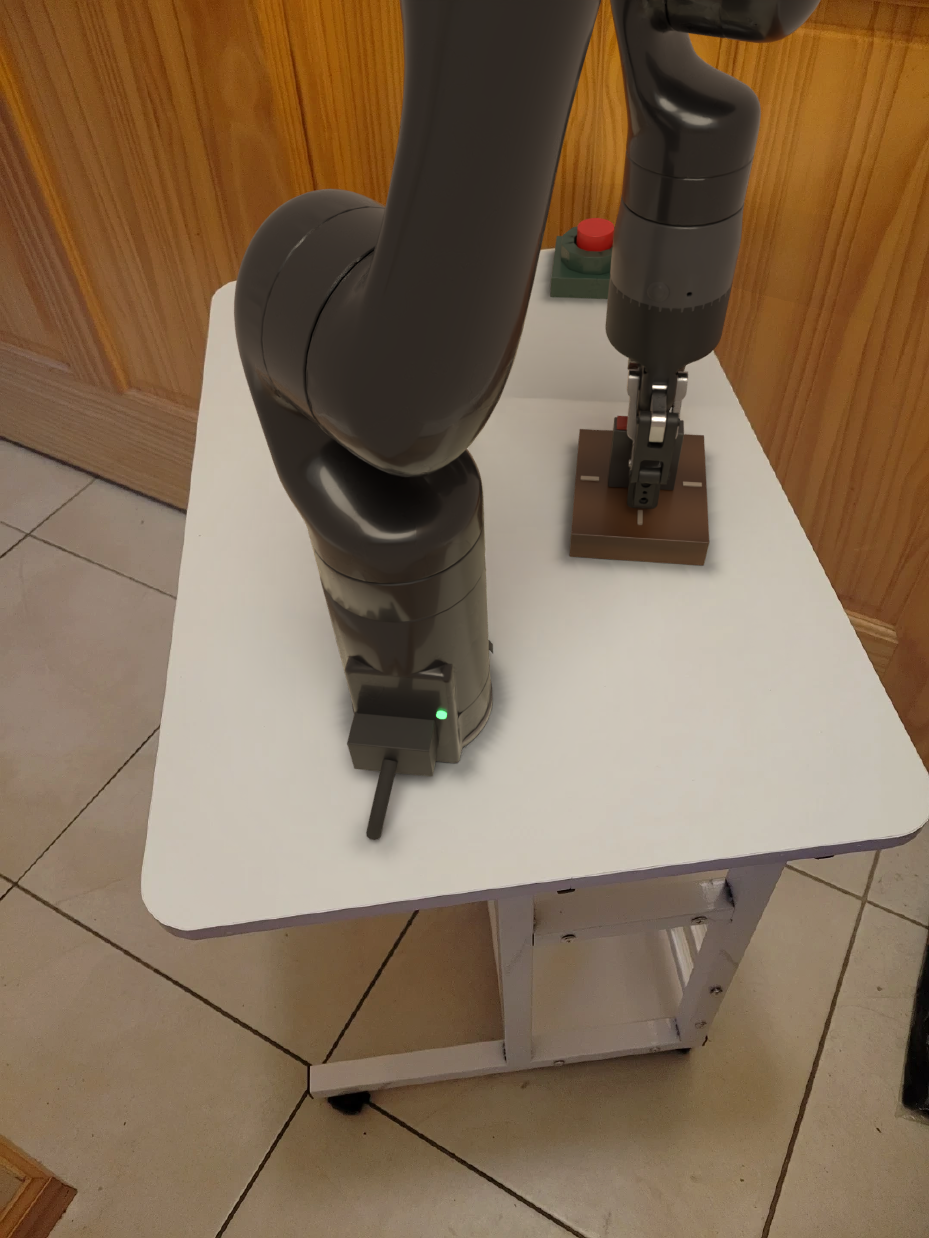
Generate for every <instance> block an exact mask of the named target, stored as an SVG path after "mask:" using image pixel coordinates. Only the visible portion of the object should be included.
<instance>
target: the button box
mask: <svg viewBox="0 0 929 1238" xmlns="http://www.w3.org/2000/svg"><path fill="white" fill-rule="evenodd" d="M577 227H578V225H577V226H573V227H571V228H570V229H568V231H566V232H565V233H563V234H562V235H556V238H555V244H554V245H555V246H554V247H555V248H554V252H553V253H554V254H553V260H552V269H551V275H550V298H558V299H559V298H560V299H561V298H562V299H563V298H564V299H593V300H608V291H609V280H610V269H611V258H612V247H613V246H612V247H611V248H610V249H607V250H604V251H586V250H583V249H580V248H578V247H577ZM614 229H615V226H614Z"/></svg>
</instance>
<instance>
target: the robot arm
mask: <svg viewBox="0 0 929 1238" xmlns="http://www.w3.org/2000/svg"><path fill="white" fill-rule="evenodd" d="M601 2H602V0H399V8H400V17H401V24H402V25H401V26H402V47H403V85H402V87H403V89H402V90H403V91H402V104H401V113H400V122H399V131H398V136H397V137H398V138H397V143H396V149H395V154H394V161H393V165H392V171H391V176H390V181H389V185H388V186H389V187H388V192H387V197H386V202H385V204H383V203H381V202H379V201H377V200H375V199H373V198H371V197H369V196H367V195H364V194H361V193H358V192H355V191H351V190H347V189H341V188H324V189H322V188H321V189H315V190H311V191H306V192H305V193H302V194H299V195H296V196H294V197H292V198H290V199H288V200H287V201H285V202H284V203H282V204H281V205H279V206H278V207H276V209H274V210H273V211H272V212H271V213H270V214H269V216H267V218H265V219H264V220H263V222H262V223H261V224H260V226H259V227H258V229H256V231H255V233H254V235H253V236H252V237H251V239H250V241H249V243H248V245H247V247H246V250H245V252H244V253H243V256H242V259H241V261H240V265H239V269H238V271H237V272H238V273H237V277H236V282H235V290H234V297H233V298H234V299H233V300H234V301H233V321H234V332H235V337H236V344H237V349H238V354H239V358H240V362H241V365H242V369H243V372H244V376H245V380H246V383H247V386H248V390H249V393H250V396H251V399H252V403H253V405H254V408H255V411H256V415H257V417H258V420H259V424H260V427H261V430H262V432H263V435H264V438H265V441H266V444H267V447H268V450H269V454H270V456H271V459H272V463H273V466H274V468H275V471H276V474H277V476H278V480H279V481H280V483H281V485H282V487H283V489H284V491H285V493H286V495H287V496H288V498H289V500H290V501H291V503H292V504H293V506H294V508H295V509H296V511H297V512H298V513H299V515H300V517H301V518H302V520H303V522H304V524H305V526H306V529H307V532H308V537H309V539H310V545H311V548H312V551H313V555H314V559H315V563H316V567H317V571H318V575H319V581H320V583H321V587H322V593H323V595H324V599H325V603H326V608H327V610H328V614H329V618H330V622H331V626H332V630H333V634H334V638H335V643H336V645H337V646H336V647H337V649H338V653H339V657H340V661H341V664H342V668H343V672H344V677H345V680H346V684H347V688H348V691H349V695H350V699H351V707H352V712H353V718H352V722H351V726H350V730H349V733H348V737H347V742H346V745H347V748H348V752H349V755H350V759H351V762H352V765H353V769H354V770H360V771H361V770H362V771H370V772H371V771H373V772H379V775H378V779H377V783H376V787H375V792H374V796H373V800H372V805H371V808H370V809H371V810H370V814H369V817H368V823H367V827H366V832H365V834H366V837H367V838H368V839H369V840H371V841H377V840H380V838H381V837H382V833H383V829H384V825H385V819H386V816H387V812H388V807H389V804H390V803H389V802H390V798H391V794H392V789H393V784H394V782H395V776H396V774H402V775H411V776H421V777H434V774H435V773H434V772H435V766H436V762H441V763H452V764H455V763H458V762H460V759H461V754H462V750H463V748H464V747H466V746H467V745H468V744H470V743H471V742H472V741H473V740H475V738H476V737H477V736H479V734H480V733H481V732H482V730H483V729H484V727H485V725H486V724H487V723H488V720H489V718H490V716H491V712H492V709H493V708H492V707H493V698H494V697H493V696H494V695H493V684H492V680H491V659H490V653H491V654H493V655H494V643H493V642H492V641H491V640H490V639H489V615H488V614H489V613H488V591H487V587H488V586H487V564H486V533H485V532H486V531H485V530H486V529H485V503H484V501H485V500H484V486H483V481H482V476H481V472H480V470H479V467H478V464H477V462H476V459H474V456H473V455H472V453H471V451H470V450H469V449H468V448H469V447H470V446H471V445H472V444H473V442H474V441H475V440H476V439H477V437H478V436H479V434H480V433H481V432H482V431H483V430H484V428H485V426H486V425H487V423H488V421H489V420H490V418H491V416H492V414H493V412H494V410H495V409H496V407H497V405H498V403H499V401H500V399H501V397H502V394H503V392H504V390H505V387H506V385H507V382H508V379H509V377H510V374H511V371H512V368H513V367H514V363H515V360H516V357H517V354H518V350H519V347H520V343H521V339H522V335H523V331H524V327H525V324H526V323H525V322H526V319H527V314H528V310H529V305H530V301H531V297H532V292H533V287H534V284H535V280H536V279H535V278H536V273H537V270H538V269H537V268H538V264H539V260H540V254H541V250H542V246H543V240H544V236H545V231H546V228H547V227H546V226H547V222H548V218H549V212H550V207H551V203H552V200H553V199H552V198H553V193H554V189H555V184H556V180H557V176H558V171H559V165H560V162H561V158H562V157H561V156H562V152H563V148H564V144H565V138H566V135H567V130H568V127H569V126H568V125H569V122H570V118H571V117H570V116H571V112H572V109H573V104H574V102H575V98H576V94H577V90H578V88H579V82H580V79H581V75H582V71H583V68H584V64H585V60H586V58H587V53H588V50H589V45H590V43H591V40H592V39H591V38H592V35H593V32H594V28H595V26H596V20H597V17H598V14H599V10H600V6H601ZM820 2H821V0H609V3H610V4H609V5H610V10H611V16H612V22H613V28H614V32H615V37H616V42H617V43H616V45H617V48H618V55H619V62H620V69H621V76H622V77H621V78H622V86H623V93H624V101H625V109H626V110H625V111H626V120H627V121H626V123H627V129H626V130H627V131H626V140H625V154H624V155H625V156H624V166H623V177H622V186H621V189H622V190H621V195H620V202H619V208H618V213H617V215H616V220H615V223H614V224H615V225H614V227H615V229H614V236H613V247H612V258H611V269H610V280H609V291H608V299H607V302H606V303H607V304H606V314H605V324H604V325H605V326H604V328H605V329H604V330H605V335H606V337H607V340H608V342H609V343H610V345H611V346H612V347H613V349H615V350H616V351H617V352H618V353H619V354H621V355H622V356H624V357H626V358H627V370H628V371H627V380H626V393H627V396H629V398H628V409H627V416H628V418H627V429H626V430H627V435H628V437H629V438H630V439H632V440H633V443H632V453H631V460H630V459H629V464H628V467H630V470H629V477H630V479H629V486H628V494H627V505H628V506H629V507H631V508H640V509H654V508H656V507H657V505H658V499H659V493H660V487H661V484H666V485H667V481H668V479H670V472H669V470H670V465H671V460H672V454H673V449H674V444H675V439H676V438H677V436H678V428H679V426H680V420H681V409H682V408H681V407H682V402H683V400H684V398H686V396H687V391H688V382H689V371H685V370H686V367H687V366H688V365H690V364H692V363H695V362H698V361H700V360H702V359H703V358H706V357H708V355H710V354H711V353H712V352H713V351H714V350H715V349H716V348H717V346H718V345H719V344H720V341H721V339H722V336H723V331H724V326H725V320H726V316H727V312H728V307H729V302H730V298H731V292H732V287H733V284H734V283H733V282H734V278H735V272H736V269H737V265H738V264H737V263H738V259H739V254H740V248H741V242H742V236H743V235H742V233H743V220H744V219H743V218H744V209H745V202H746V198H747V192H748V188H749V183H750V178H751V174H752V173H751V172H752V167H753V163H754V158H755V153H756V147H757V142H758V138H759V133H760V127H761V116H762V108H761V103H760V99H759V97H758V95H757V94H756V92H755V91H754V90H753V89H752V88H751V87H750V86H749V85H748V84H747V83H744V82H743V81H742V80H740V79H737V78H736V77H734V76H733V75H731V74H728V73H726V72H724V71H722V70H720V69H718V68H715V67H714V66H712V65H711V64H709V63H708V62H706V61H705V59H703V58H701V57H700V56H699V55H698V54H697V52H696V51H695V48H694V46H693V43H692V41H691V37H690V34H691V35H698V36H704V37H713V38H718V39H719V38H720V39H727V40H731V41H739V42H745V43H752V44H753V43H754V44H771V43H775V42H779V41H781V40H783V39H786V38H787V37H789V36H790V35H793V34H794V33H795V32H796V31H798V29H799V28H801V27H802V26H803V25H804V24H805V23H806V22H807V20H808V19H809V18H810V17H811V15H813V13H814V12H815V10H816V9H817V7H818V6H819V5H820Z"/></svg>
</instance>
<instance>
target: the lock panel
mask: <svg viewBox="0 0 929 1238" xmlns="http://www.w3.org/2000/svg"><path fill="white" fill-rule="evenodd" d="M578 430H579V431H578V445H577V454H576V455H577V456H576V467H575V481H574V491H573V504H572V505H573V506H572V516H571V517H572V518H571V528H570V540H569V554H568V555H569V557H571V558H584V559H585V558H586V559H599V560H600V559H601V560H614V561H629V562H630V561H632V562H645V563H656V564H657V563H658V564H659V563H660V564H661V563H662V564H674V565H688V566H705V562H706V558H707V554H708V550H709V546H710V530H709V528H710V527H709V509H708V508H709V506H708V489H707V465H706V447H705V445H706V444H705V435H704V434H687V433H684V438H683V443H682V449H681V454H680V459H679V465H678V470H677V475H676V481H675V486H674V490H660V493H659V499H658V505H657V507H656V508H654V509H640V508H631V507H629V506H628V505H627V494H628V488H624V487H608V471H609V462H610V453H611V443H612V434H613V430H606V429H590V428H579V429H578Z"/></svg>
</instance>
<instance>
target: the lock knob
mask: <svg viewBox="0 0 929 1238" xmlns="http://www.w3.org/2000/svg"><path fill="white" fill-rule="evenodd" d="M627 418H628V415H617V416H615V417H614V418H613V425H612V431H613V434H612V443H611V453H610V462H609V471H608V487H624V488H628V486H629V479H630V477H629V470H630V467H628V464H629V459H630V460H631V453H632V443H633V440H632V439H630V438H629V437H628V435H627V430H626V429H627ZM684 434H685V421H684V420H683V419H680V426H679V428H678V436H677V438H676V439H675V444H674V449H673V454H672V460H671V465H670V470H669V472H670V479H668V481H667V485H666V484H661V487H660V490H674V486H675V481H676V475H677V470H678V465H679V459H680V454H681V449H682V443H683V438H684Z"/></svg>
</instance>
